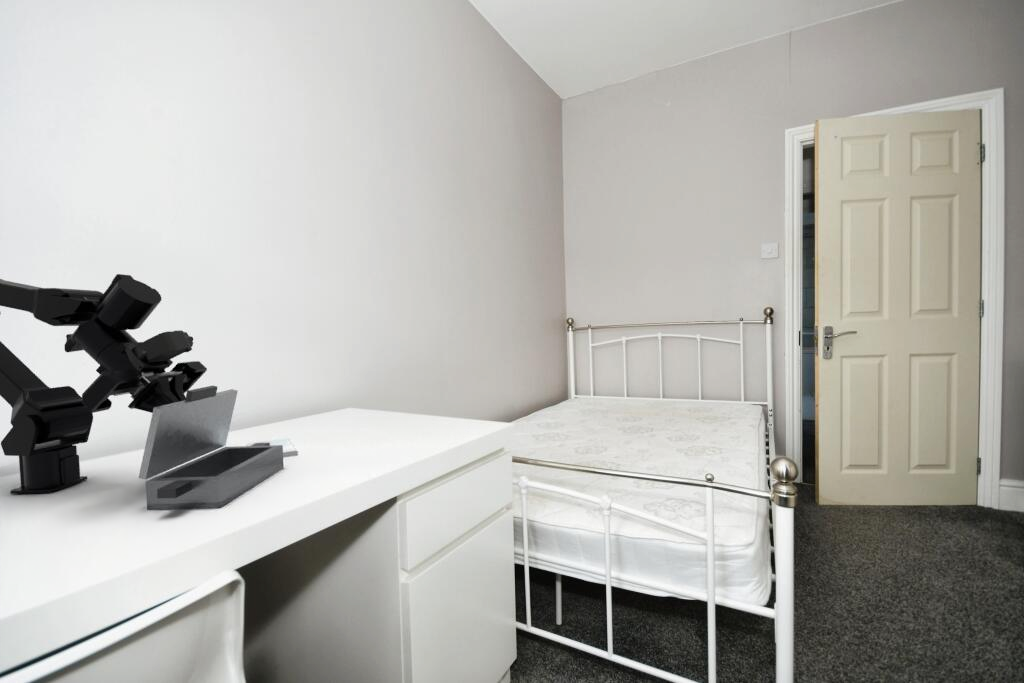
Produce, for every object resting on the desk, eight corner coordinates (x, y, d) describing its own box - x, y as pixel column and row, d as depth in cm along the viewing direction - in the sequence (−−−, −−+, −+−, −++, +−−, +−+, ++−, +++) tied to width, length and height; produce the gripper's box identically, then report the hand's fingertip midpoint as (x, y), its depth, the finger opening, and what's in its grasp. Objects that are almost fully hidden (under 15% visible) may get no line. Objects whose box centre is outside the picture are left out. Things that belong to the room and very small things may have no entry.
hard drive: (245, 443, 96) (249, 456, 86) (289, 437, 101) (297, 449, 90) (246, 451, 96) (249, 465, 86) (289, 445, 101) (298, 457, 90)
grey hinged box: (129, 518, 61) (127, 488, 61) (236, 464, 85) (235, 442, 85) (206, 516, 61) (204, 486, 61) (291, 462, 85) (290, 440, 85)
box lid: (145, 479, 64) (131, 476, 64) (225, 445, 82) (214, 443, 82) (163, 398, 64) (148, 395, 64) (239, 382, 82) (228, 379, 82)
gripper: (98, 311, 63) (184, 392, 63) (193, 314, 81) (259, 376, 82) (43, 371, 63) (128, 451, 63) (150, 360, 82) (215, 422, 82)
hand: (191, 420), depth 73 cm, fingers closed, pressing on box lid
